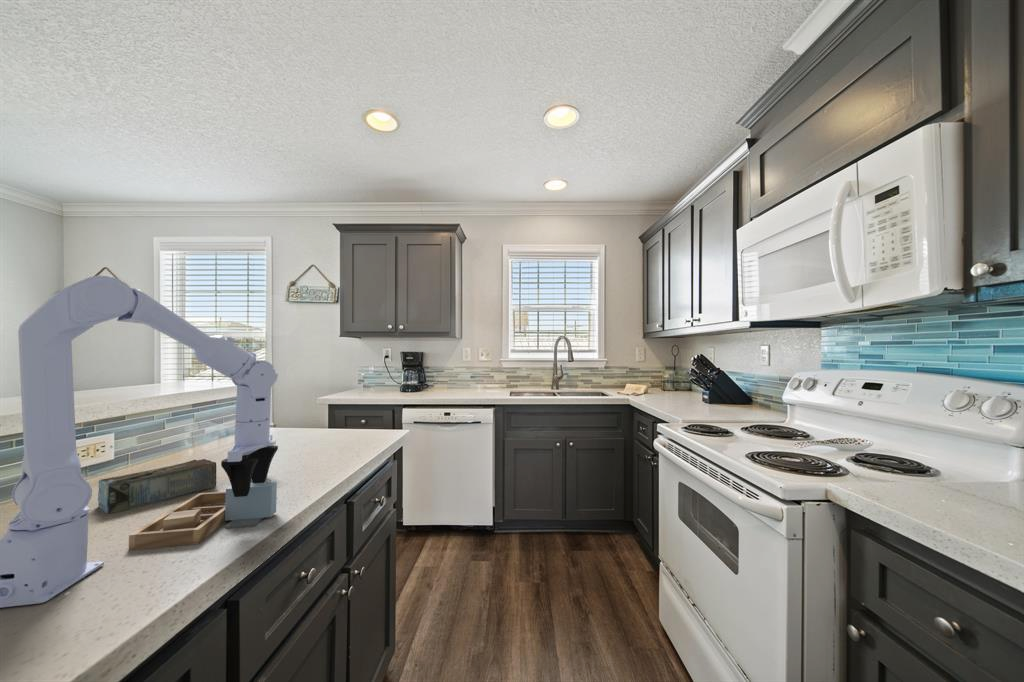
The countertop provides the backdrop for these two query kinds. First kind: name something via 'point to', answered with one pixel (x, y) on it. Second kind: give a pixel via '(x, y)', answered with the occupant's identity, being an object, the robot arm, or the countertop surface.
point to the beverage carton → (155, 485)
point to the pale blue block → (252, 502)
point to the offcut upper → (182, 519)
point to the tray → (155, 538)
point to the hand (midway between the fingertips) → (250, 489)
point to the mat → (243, 523)
